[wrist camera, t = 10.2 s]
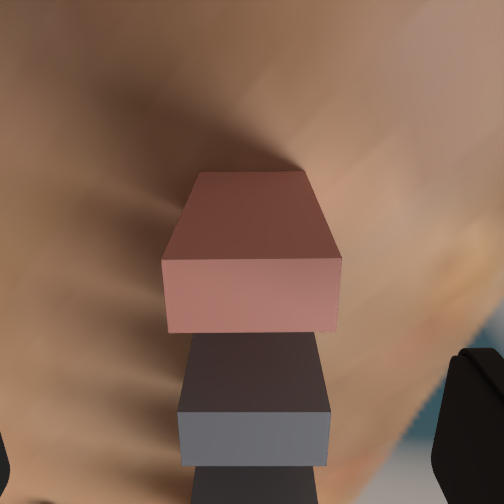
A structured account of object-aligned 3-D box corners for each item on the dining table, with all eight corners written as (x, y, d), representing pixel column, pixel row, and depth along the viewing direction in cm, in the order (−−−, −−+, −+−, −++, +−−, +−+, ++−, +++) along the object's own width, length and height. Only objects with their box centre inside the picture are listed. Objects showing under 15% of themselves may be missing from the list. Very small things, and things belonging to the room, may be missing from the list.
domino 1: (302, 218, 23) (336, 331, 14) (202, 219, 23) (168, 332, 14) (304, 170, 22) (341, 258, 13) (199, 172, 22) (161, 259, 13)
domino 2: (299, 313, 25) (326, 465, 16) (208, 313, 25) (181, 466, 16) (301, 274, 24) (330, 412, 15) (206, 274, 24) (177, 412, 15)
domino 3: (296, 393, 27) (317, 567, 18) (211, 393, 27) (190, 567, 18) (297, 360, 26) (321, 526, 17) (210, 360, 26) (187, 526, 17)
